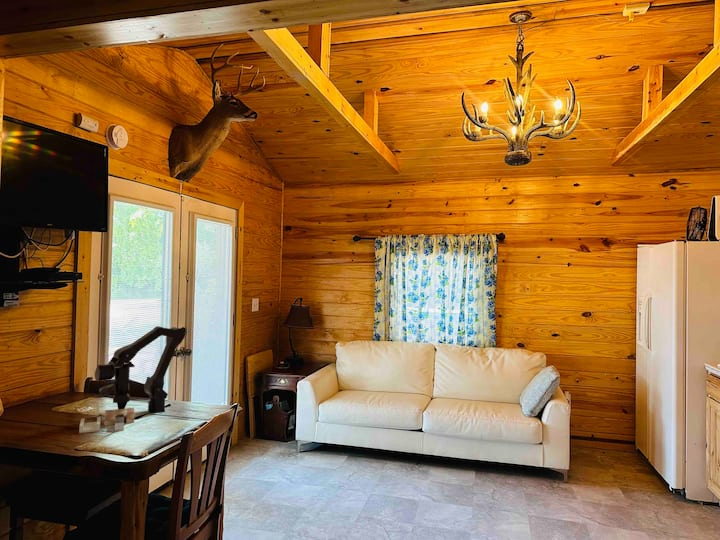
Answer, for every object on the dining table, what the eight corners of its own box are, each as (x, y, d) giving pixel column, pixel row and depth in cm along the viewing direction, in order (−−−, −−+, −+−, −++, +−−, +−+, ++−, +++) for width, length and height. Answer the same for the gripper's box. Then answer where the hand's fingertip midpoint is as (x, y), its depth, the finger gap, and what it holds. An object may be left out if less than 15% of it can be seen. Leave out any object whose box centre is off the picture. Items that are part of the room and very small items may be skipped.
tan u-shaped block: (133, 418, 206) (133, 407, 206) (134, 422, 200) (134, 411, 200) (104, 421, 201) (105, 410, 201) (104, 425, 195) (104, 414, 195)
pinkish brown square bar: (115, 419, 205) (115, 411, 205) (123, 418, 206) (123, 410, 206) (114, 431, 189) (115, 423, 189) (123, 430, 190) (123, 422, 190)
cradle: (100, 423, 197) (100, 416, 197) (99, 430, 188) (100, 423, 188) (81, 425, 194) (81, 418, 194) (79, 433, 185) (79, 425, 185)
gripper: (101, 375, 212) (100, 410, 211) (100, 384, 195) (98, 422, 195) (129, 373, 217) (128, 407, 216) (130, 382, 200) (128, 419, 200)
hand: (120, 414), depth 207 cm, fingers closed
